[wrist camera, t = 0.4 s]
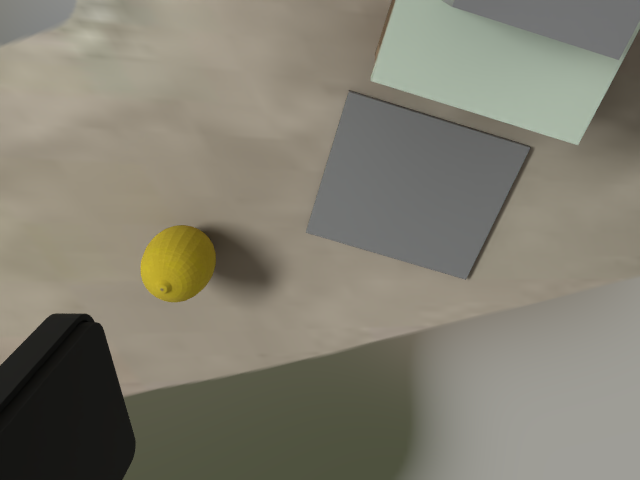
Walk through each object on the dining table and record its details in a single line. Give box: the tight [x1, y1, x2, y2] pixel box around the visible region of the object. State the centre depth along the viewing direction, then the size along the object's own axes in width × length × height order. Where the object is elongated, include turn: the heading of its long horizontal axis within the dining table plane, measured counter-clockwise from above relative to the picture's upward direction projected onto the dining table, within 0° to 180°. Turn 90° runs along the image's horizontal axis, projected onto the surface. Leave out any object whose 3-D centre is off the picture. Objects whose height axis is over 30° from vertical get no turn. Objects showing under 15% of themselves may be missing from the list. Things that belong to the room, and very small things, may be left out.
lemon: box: [141, 225, 216, 302], centre depth 43 cm, size 6×6×8 cm
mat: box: [306, 90, 530, 280], centre depth 43 cm, size 14×12×1 cm
